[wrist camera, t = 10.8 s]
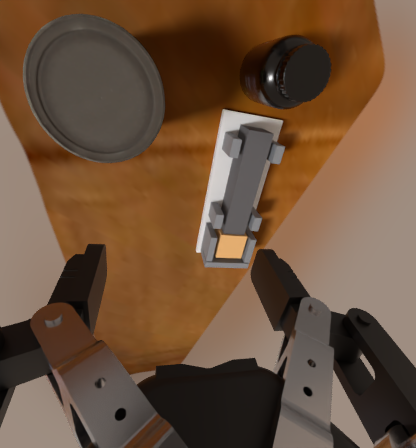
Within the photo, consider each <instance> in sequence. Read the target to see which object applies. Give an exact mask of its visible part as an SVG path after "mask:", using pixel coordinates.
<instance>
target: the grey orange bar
mask: <svg viewBox="0 0 416 448" xmlns="http://www.w3.org/2000/svg"><path fill="white" fill-rule="evenodd" d="M273 136H274V134H273V133H271V132H269V131H267V130H265V129H262V128H257V127H251V126H245V125H240V129H239V133H238V137H239V138H240V139H241V140H242V143H241V147H240V151H239V155H238V158H233V159H232V163H231V168H230V172H229V177H228V181H227V185H226V190H225V194H224V198H223V203H222V207H221V210H222V212H223V214H224V218H223V222H222V227H221V229H214V230H215V233H216V235H217V242H216V247H215V251H214V253H215V256H216V258H241V257H242V253H243V250H244V247H245V244H246V240H247V235H246V233H245V231H246V227H247V224H248V221H249V217H250V214H251V211H252V207H253V204H254V200H255V197H256V194H257V190H258V187H259V183H260V180H261V177H262V173H263V170H264V167H265V163H266V160H267V156H268V153H269V150H270V146H271V143H272V139H273Z"/></svg>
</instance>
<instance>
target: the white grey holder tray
mask: <svg viewBox="0 0 416 448" xmlns="http://www.w3.org/2000/svg"><path fill="white" fill-rule="evenodd" d="M282 123H283V121H282V120H278V119H273V118H268V117H262V116H257V115H252V114H246V113H241V112H236V111H230V110H225V109H223V110H222V115H221V120H220V125H219V131H218V136H217V141H216V146H215V152H214V157H213V162H212V167H211V172H210V178H209V183H208V188H207V193H206V199H205V204H204V209H203V214H202V219H201V225H200V230H199V235H198V240H197V246H196V252H201V254H202V258H203V262H204V266H205V267H222V268H248V265H249V262H250V259H251V256H252V253H253V250H254V247H255V244H256V241H257V240H256V238H255V237H254V235H253V234H252V232H251V231H258V230H259V227H260V224H261V221H262V217H261V216H260V215H259V213H258V212H257V211H256V209H257V205H258V202H259V199H260V195H261V192H262V189H263V186H264V182H265V179H266V176H267V172H268V169H269V166H270V163H274V164H280V162H281V159H282V156H283V152H284V149H285V146H283V145H281V144H279V143H277V140H278V136H279V133H280V130H281V126H282ZM240 125H245V126H251V127H257V128H262V129H265V130H267V131H269V132H271V133H273V134H274V136H273V139H272V143H271V146H270V150H269V153H268V156H267V160H266V163H265V167H264V170H263V173H262V177H261V180H260V183H259V187H258V190H257V194H256V197H255V200H254V204H253V207H252V211H251V214H250V217H249V221H248V224H247V227H246V231H245V233H246V235H247V240H246V244H245V247H244V250H243V253H242V257H241V258H216V256H215V253H214V251H215V247H216V242H217V235H216V233H215V230H214V229H221V227H222V222H223V218H224V214H223V212H222V210H221V207H222V203H223V198H224V194H225V190H226V185H227V181H228V177H229V172H230V168H231V163H232V159H233V158H238V155H239V151H240V147H241V143H242V140H241V139H240V138H239V137H238V133H239V129H240Z"/></svg>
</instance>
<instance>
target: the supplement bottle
mask: <svg viewBox="0 0 416 448" xmlns="http://www.w3.org/2000/svg"><path fill="white" fill-rule="evenodd" d="M330 72H331V63H330V58H329V54H328V53H327V52H326V50H325V49H323V47H321V46H319V45H318V44H317V45H315V44H314V43H313V42H312V41H311V40H309V39H308V38H306V37H304V36H301V35H289V36H285V37H282V38H278V39H275V40H272V41H269V42H265V43H262V44H260V45H258V46H256V47H254V48H253V49H252V50H251V51H250V52H249V53H248V54H247V55H246V57H245V58H244V60H243V63H242V65H241V69H240V84H241V87H242V90H243V92H244V93H245V95H246V96H247V97H248V98H249V99H251V100H252V101H254V102H257V103H260V104H264V105H267V106H270V107H274V108H278V109H291V108H294V107H297V106H299V105H300V104H302V103H303V102H307V101H311V100H312V99H315V98H316V96H318V95H319V94H320V93H321V92H322V91H323V89H324V88H325V87H326V84H327V83H328V80H329V77H330Z"/></svg>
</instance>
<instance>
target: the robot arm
mask: <svg viewBox="0 0 416 448" xmlns="http://www.w3.org/2000/svg"><path fill="white" fill-rule="evenodd" d="M106 276H107V261H106V246H105V244H88V246H87V248H86V251H85V254H75V255H74V256H73V257H72V258H71V259H69V260H68V261H67V263H66V265H65V267H64V270H63V272H62V274H61V276H60V278H59V280H58V283H57V285H56V287H55V289H54V291H53V293H52V296H51V298H50V300H49V302H48V304H47V305H46V306H45V307H42V308H41V309H39V310H38V311H37V312H36V313H35V314H34V315H33V317H32V318H31V319H29V320H27V321H24V322H20V323H17V324H13V325H9V326H5V327H0V427H1V424H2V422H3V419H4V416H5V414H6V411H7V408H8V406H9V403H10V401H11V398H12V395H13V393H14V390H15V387H16V386H17V385H19V384H22V383H25V382H28V381H30V380H33V379H36V378H39V377H41V376H44V375H45V376H46V378H47V380H48V382H49V384H50V385H51V387H52V389H53V391H54V393H55V395H56V397H57V399H58V401H59V403H60V405H61V407H62V409H63V411H64V413H65V416H66V418H67V421H68V423H69V426H70V428H71V430H72V432H73V435H74V437H75V438H76V441H77V443H78V444H79V447H80V448H360V447H358V446H357V445H356V444H355V443H354V442H353V441H352V440H351V439H350V438H348V437H347V436H346V435H345V434H344V433H343V432H342V431H340V429H338V428H337V427H336V426H335V425H334V424H333V423H332V422H331V421H330V417H331V400H332V380H333V370H334V371H335V373H336V375H337V377H338V379H339V381H340V382H341V384H342V386H343V388H344V390H345V392H346V394H347V396H348V398H349V399H350V401H351V403H352V405H353V407H354V409H355V410H356V412H357V414H358V416H359V418H360V420H361V422H362V424H363V426H364V427H365V429H366V431H367V433H368V435H369V437H370V439H371V440H372V442H373V444H374V448H416V368H415V367H414V365H413V364H412V363H411V362H410V360H409V359H408V358H407V357H406V356H405V354H404V353H403V352H402V351H401V349H400V348H399V347H398V346H397V345H396V343H395V342H394V341H393V340H392V338H391V337H390V336H389V335H388V334H387V332H386V331H385V330H384V329H383V328H382V327H381V325H380V324H379V323H378V321H377V320H376V319H375V318H374V317H373V316H371V315H370V314H369V313H367V312H366V311H363V310H361V309H357V308H352V309H350V310H349V311H348V312H347V314H346V315H344V314H340V313H336V312H332V311H330V310H329V308H328V307H327V306H326V305H325V304H324V303H323V302H321V301H320V300H318V299H316V298H312V297H310V295H309V294H308V292H307V291H306V290H305V288H304V287H303V285H302V284H301V282H300V281H299V279H297V276H296V275H295V273H293V270H292V269H291V267H290V266H289V265H288V264H287V263H286V262H285V261H283V260H282V259H279V258H278V256H277V255H276V253H275V252H274V251H273V250H271V249H259V250H258V251H257V254H256V257H255V260H254V263H253V266H252V270H251V280H252V283H253V285H254V287H255V289H256V292H257V294H258V296H259V298H260V300H261V303H262V305H263V307H264V309H265V311H266V314H267V316H268V318H269V320H270V322H271V325H272V327H273V329H274V331H284V333H285V335H284V337H283V339H282V343H281V347H280V350H279V354H278V357H277V361H276V364H275V368H274V371H273V372H272V371H270V370H268V369H265V368H262V367H259V366H258V365H257V362H256V359H255V358H249V359H237V360H231V361H228V362H226V363H223V364H221V365H218V366H215V367H213V368H202V367H196V366H190V365H185V364H176V365H164V366H156V373H155V375H153V376H151V377H148V378H146V379H144V380H143V381H141V382H140V383H138V384H137V385H136V384H135V382H134V381H133V379H132V378H131V377H130V375H129V374H128V373H127V371H126V370H125V369H124V367H123V366H122V365H121V363H120V362H119V360H118V359H117V358H116V356H115V355H114V354H113V352H112V351H111V350H110V348H109V347H108V346H107V344H106V343H105V342H104V341H102V340H100V341H97V340H96V339H95V337H94V336H93V333H94V329H95V325H96V320H97V316H98V312H99V308H100V304H101V299H102V295H103V291H104V287H105V282H106ZM362 353H363V354H364V356H365V357H366V359H367V360H368V362H369V363H370V365H371V366H372V368H373V369H374V372H375V380H374V379H373V377H372V376H371V374H370V372H369V371H368V369H367V368H366V367H365V365H364V363H363V362H362V360H361V359H360V356H361V355H362Z"/></svg>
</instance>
